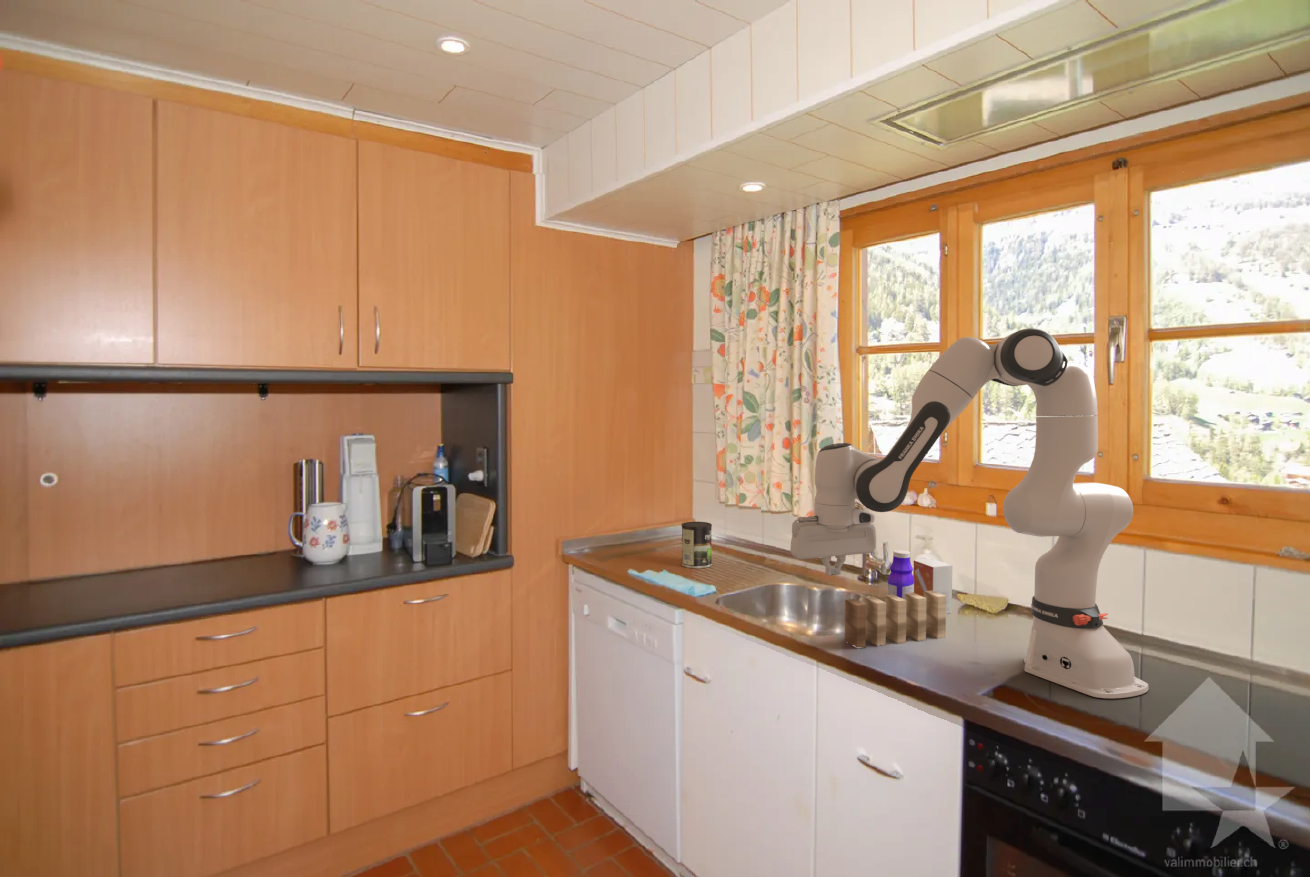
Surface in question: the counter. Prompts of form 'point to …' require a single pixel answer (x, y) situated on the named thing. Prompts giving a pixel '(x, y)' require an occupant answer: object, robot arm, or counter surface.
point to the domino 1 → (855, 622)
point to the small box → (933, 579)
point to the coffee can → (696, 545)
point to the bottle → (901, 574)
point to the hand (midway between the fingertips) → (832, 574)
